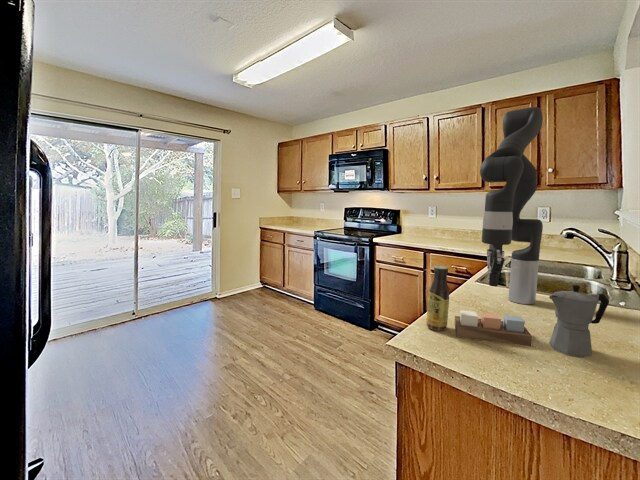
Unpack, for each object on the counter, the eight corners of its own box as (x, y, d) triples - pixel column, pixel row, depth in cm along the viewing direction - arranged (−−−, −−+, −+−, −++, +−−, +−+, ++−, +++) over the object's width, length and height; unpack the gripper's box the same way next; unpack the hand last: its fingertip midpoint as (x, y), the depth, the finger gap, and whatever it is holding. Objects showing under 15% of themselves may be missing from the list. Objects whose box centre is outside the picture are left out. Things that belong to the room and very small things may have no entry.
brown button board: (454, 324, 103) (454, 315, 103) (521, 332, 97) (522, 323, 96) (456, 337, 94) (457, 327, 93) (531, 346, 87) (532, 336, 87)
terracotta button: (480, 324, 98) (481, 312, 97) (496, 326, 96) (497, 314, 96) (483, 330, 94) (484, 317, 93) (499, 332, 92) (500, 319, 92)
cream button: (459, 322, 100) (460, 310, 99) (475, 324, 98) (476, 311, 98) (461, 327, 95) (461, 314, 95) (477, 329, 94) (478, 316, 94)
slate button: (502, 327, 96) (503, 314, 95) (519, 329, 94) (520, 316, 94) (506, 333, 92) (507, 319, 91) (523, 335, 90) (524, 321, 90)
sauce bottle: (422, 325, 102) (424, 265, 100) (437, 323, 104) (440, 264, 102) (436, 333, 96) (439, 269, 93) (452, 330, 98) (455, 268, 96)
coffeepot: (558, 357, 81) (564, 289, 79) (533, 341, 91) (539, 280, 88) (618, 358, 81) (626, 290, 79) (588, 342, 90) (594, 280, 88)
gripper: (518, 229, 84) (512, 292, 86) (506, 226, 96) (502, 281, 98) (486, 228, 86) (482, 290, 88) (479, 225, 99) (475, 279, 101)
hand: (493, 285), depth 93 cm, fingers closed
